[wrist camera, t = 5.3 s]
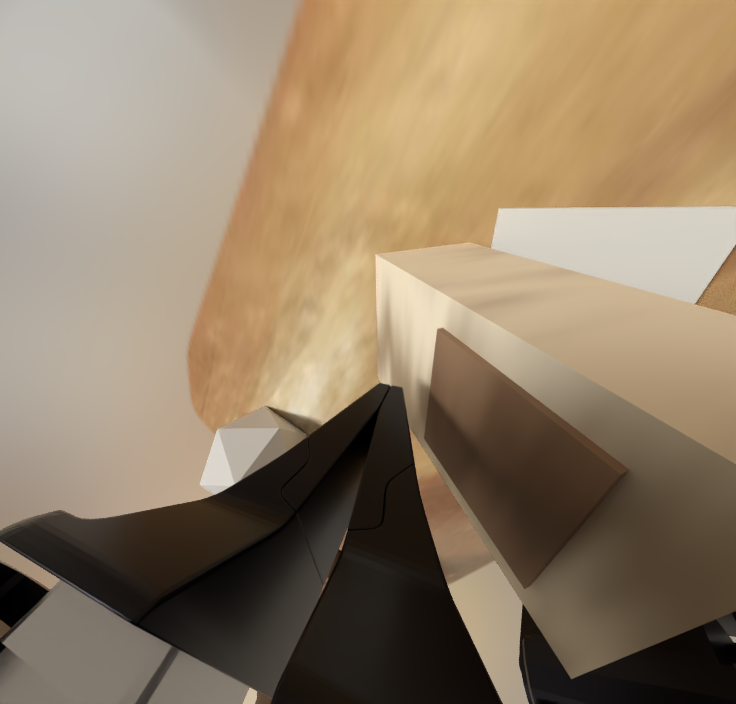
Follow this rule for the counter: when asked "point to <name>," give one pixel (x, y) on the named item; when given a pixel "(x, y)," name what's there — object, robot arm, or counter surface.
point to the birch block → (573, 437)
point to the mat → (625, 243)
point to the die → (247, 447)
